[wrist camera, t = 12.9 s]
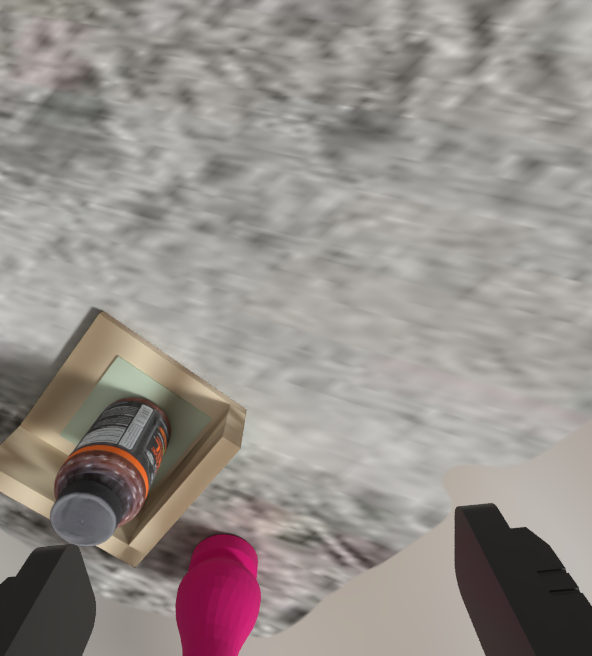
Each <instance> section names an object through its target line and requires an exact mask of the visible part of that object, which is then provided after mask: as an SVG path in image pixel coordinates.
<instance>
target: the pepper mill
mask: <svg viewBox="0 0 592 656" xmlns="http://www.w3.org/2000/svg"><path fill="white" fill-rule="evenodd" d="M257 566H258V559H257V554H256V552H255V550H254V549H253V547H252V546H251V545H250V544H249V543H248V542H247V541H245V540H243V539H242V538H240V537H237V536H234V535H226V534H220V535H214V536H211V537H208V538H206V539H205V540H203V541H202V542H200V543H199V544H198V545H197V546H196V548H195V549H194V551H193V554H192V557H191V562H190V566H189V572H188V573H187V574H186V575H185V576H184V577H183V579H182V581H181V583H180V585H179V588H178V592H177V598H176V621H177V625H178V630H179V633H180V637H181V643H182V650H183V656H238V654H239V651H240V649H241V647H242V645H243V644H244V642H245V640H246V639H247V637H248V636H249V634H250V632H251V631H252V629H253V627H254V624H255V622H256V620H257V617H258V613H259V608H260V602H261V592H260V587H259V584H258V582H257V580H256V578H257Z"/></svg>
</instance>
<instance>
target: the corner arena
mask: <svg viewBox="0 0 592 656" xmlns="http://www.w3.org/2000/svg"><path fill="white" fill-rule="evenodd" d="M129 397H132V398H142V399H145V400H148V401H150V402H152V403H154V404H156V405H157V406H158V407H159V408H160V409H162V410H163V412H164V413H165V415H166V416H167V418H168V420H169V423H170V427H171V436H170V441H169V444H168V447H167V450H166V452H165V455H164V457H163V459H162V462H161V464H160V466H159V469H158V471H157V473H156V476H155V478H154V481H153V483H152V485H151V488H150V490H149V493H148V495H147V497H146V499H145V501H144V504H143V506H142V508H141V509H140V511H139V512H138V514H137V515H136V516H135V517H134V518H133V519H132V520H130V521H129V522H127V523H126V524H124V525H122V526H120V527H117V528H116V529H115V531H114V533H113V535H112V536H111V537H110V538H109V539H108V540H107V541H105V542H104V543H101V544H99V545H96V546H97V547H99V548H101V549H103V550H104V551H106V552H108V553H110V554H111V555H113V556H115V557H117V558H119V559H120V560H122V561H124V562H126V563H127V564H129V565H131V566H133V567H134V568H135V567H136V566H137V565H138V564H139V563H140V562H141V561H142V559H143V558H144V557H145V556H146V555H147V554H148V553H149V552H150V550H151V549H152V548H153V547H154V546H155V545H156V544H157V542H158V541H159V540H160V539H161V538H162V537H163V536H164V535H165V533H166V532H167V531H168V530H169V529H170V528H171V527H172V525H173V524H174V523H175V522H176V521H177V520H178V519H179V518H180V516H181V515H182V514H183V513H184V512H185V511H186V510H187V509H188V507H189V506H190V505H191V504H192V503H193V502H194V501H195V499H196V498H197V497H198V496H199V495H200V494H201V493H202V492H203V490H204V489H205V488H206V487H207V486H208V485H209V484H210V482H211V481H212V480H213V479H214V478H215V477H216V476H217V475H218V473H219V472H220V471H221V470H222V469H223V468H224V467H225V465H226V464H227V463H228V462H229V461H230V460H231V459H232V458H233V456H234V455H235V454H236V453H237V452H238V451H239V450H240V448H241V442H242V436H243V430H244V423H245V417H246V411H247V410H246V409H244V408H243V407H241V406H240V405H239V404H237V403H236V402H234V401H233V400H231V399H230V398H228V397H227V396H226V395H224V394H223V393H221V392H220V391H218V390H217V389H215V388H214V387H213V386H211V385H210V384H208V383H207V382H205V381H204V380H202V379H201V378H200V377H198V376H197V375H195V374H194V373H192V372H191V371H189V370H188V369H187V368H185V367H184V366H182V365H181V364H179V363H178V362H176V361H175V360H174V359H172V358H171V357H169V356H168V355H166V354H165V353H163V352H162V351H160V350H159V349H158V348H156V347H155V346H153V345H152V344H150V343H149V342H147V341H146V340H145V339H143V338H142V337H140V336H139V335H137V334H136V333H134V332H133V331H132V330H130V329H129V328H127V327H126V326H124V325H123V324H121V323H120V322H119V321H117V320H116V319H114V318H113V317H111V316H110V315H108V314H107V313H106V312H104V311H102V312H101V313H100V314H99V315H98V316H97V318H96V319H95V321H94V322H93V323H92V325H91V326H90V328H89V329H88V330H87V332H86V333H85V335H84V336H83V337H82V339H81V340H80V342H79V343H78V344H77V346H76V347H75V349H74V350H73V352H72V353H71V354H70V356H69V357H68V359H67V360H66V361H65V363H64V364H63V366H62V367H61V368H60V370H59V371H58V373H57V374H56V375H55V377H54V378H53V380H52V381H51V382H50V384H49V385H48V387H47V388H46V390H45V391H44V392H43V394H42V395H41V397H40V398H39V399H38V401H37V402H36V404H35V405H34V406H33V408H32V409H31V411H30V412H29V413H28V415H27V416H26V418H25V419H24V420H23V422H22V423H21V425H20V426H19V427H18V428H17V429H16V430H15V431H14V432H13V433H12V434H11V435H10V436H9V437H8V438H7V439H6V440H5V441H4V442H3V443H2V444H1V445H0V492H2V493H4V494H6V495H7V496H9V497H11V498H13V499H14V500H16V501H18V502H20V503H22V504H23V505H25V506H27V507H29V508H30V509H32V510H34V511H36V512H37V513H39V514H41V515H43V516H44V517H46V518H48V519H50V511H51V508H52V506H53V504H54V503H55V501H56V499H55V495H54V482H55V478H56V476H57V473H58V471H59V470H60V468H61V466H62V465H63V464H64V462H65V461H66V460H67V458H68V457H69V455H70V454H71V453H72V451H73V450H74V449H75V447H76V446H77V445H78V443H79V442H80V441H81V439H82V438H83V437H84V435H85V434H86V433H87V431H88V430H89V429H90V427H91V426H92V425H93V424H94V422H95V421H96V420H97V418H98V417H99V415H100V414H101V413H102V412H103V411H104V410H105V409H106V408H107V407H108V406H109V405H110V404H111V403H113V402H115V401H117V400H119V399H123V398H129Z"/></svg>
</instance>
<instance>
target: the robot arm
mask: <svg viewBox="0 0 592 656" xmlns="http://www.w3.org/2000/svg"><path fill="white" fill-rule="evenodd" d="M455 572H456V578H457V582H458V586H459V590H460V593H461V596H462V599H463V601H464V604H465V606H466V608H467V611H468V613H469V616H470V618H471V621H472V623H473V626H474V628H475V631H476V633H477V636H478V638H479V641H480V643H481V646H482V648H483V650H484V653H485V655H486V656H592V606H591V605H590V603H589V602H588V600H587V599H586V597H585V596H584V595H583V593H580V591H579V587H578V586H577V584H576V583H575V581H574V580H573V579H572V577H571V576H570V574H569V573H566V569H565V567H564V566H563V564H562V563H561V561H560V560H559V558H558V557H557V556H556V554H555V553H554V551H553V550H552V548H551V547H550V545H548V544H547V543H546V542H545V541H543V540H542V539H541V538H539V537H538V536H537V535H535V534H534V533H533V532H531V531H530V530H529V529H528V528H526V527H522V528H511V529H510V527H509V526H508V524H507V522H506V521H505V519H504V517H503V516H502V514H501V513H500V511H499V509H498V508H497V506H496V505H495V504H493V503H488V504H479V505H468V506H459V507H456V509H455ZM95 616H96V601H95V596H94V593H93V590H92V587H91V584H90V580H89V577H88V574H87V571H86V568H85V565H84V561H83V558H82V555H81V552H80V549H79V548H78V546H77V545H75V544H68V545H58V546H48V547H39V548H36V549H35V550H34V551H33V552H32V553H31V554H30V556H29V557H28V559H27V560H26V562H25V563H24V565H23V566H22V568H21V569H20V571H19V573H18V574H17V575H16V577H8V578H7V579H6V580H5V581H4V582H2V583H1V584H0V656H82V654H83V652H84V650H85V647H86V645H87V642H88V640H89V638H90V635H91V633H92V630H93V627H94V622H95Z"/></svg>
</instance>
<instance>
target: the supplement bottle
mask: <svg viewBox="0 0 592 656" xmlns="http://www.w3.org/2000/svg"><path fill="white" fill-rule="evenodd" d="M170 436H171V427H170V423H169V420H168V418H167V416H166V415H165V413H164V412H163V410H162V409H160V408H159V407H158V406H157V405H156V404H154V403H152V402H150V401H148V400H145V399H142V398H132V397H129V398H123V399H119V400H117V401H115V402H113V403H111V404H110V405H109V406H108V407H107V408H106V409H105V410H104V411H103V412H102V413H101V414H100V415H99V417H98V418H97V420H96V421H95V422H94V424H93V425H92V426H91V427H90V429H89V430H88V431H87V433H86V434H85V435H84V437H83V438H82V439H81V441H80V442H79V443H78V445H77V446H76V447H75V449H74V450H73V451H72V453H71V454H70V455H69V457H68V458H67V460H66V461H65V462H64V464H63V465H62V466H61V468H60V470H59V471H58V473H57V476H56V478H55V482H54V495H55V499H56V501H55V503H54V504H53V506H52V508H51V511H50V521H51V525H52V528H53V529H54V531H55V532H56V533H57V534H58V535H59V537H61V538H62V539H64V540H65V541H67V542H69V543H71V544H75V545H77V546H95V545H99V544H101V543H104V542H105V541H107V540H108V539H109V538H110V537H111V536H112V535H113V533H114V531H115V529H116V528H117V527H120V526H122V525H124V524H126V523H127V522H129V521H130V520H132V519H133V518H134V517H135V516H136V515H137V514H138V512H139V511H140V509H141V508H142V506H143V504H144V501H145V499H146V497H147V495H148V493H149V490H150V488H151V485H152V483H153V481H154V478H155V476H156V473H157V471H158V469H159V466H160V464H161V462H162V459H163V457H164V455H165V452H166V450H167V447H168V444H169V441H170Z"/></svg>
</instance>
